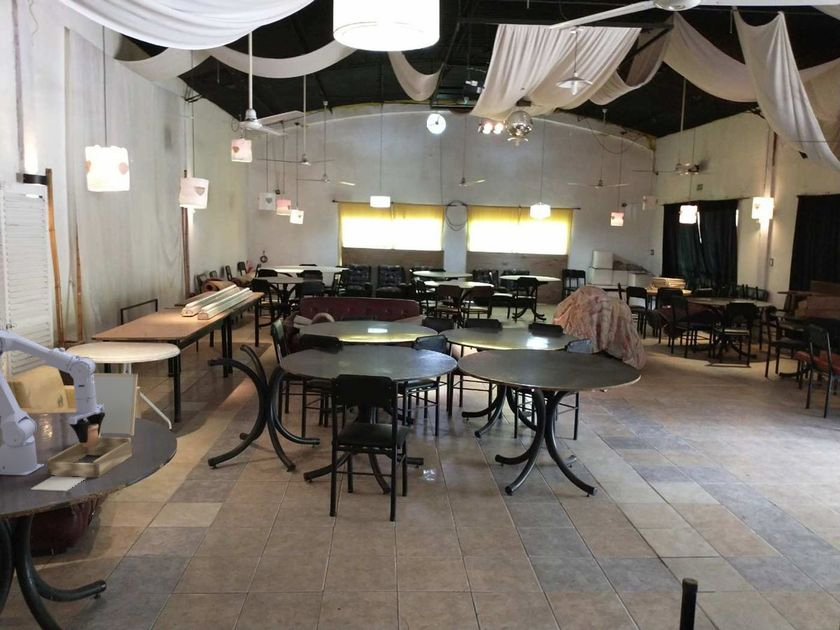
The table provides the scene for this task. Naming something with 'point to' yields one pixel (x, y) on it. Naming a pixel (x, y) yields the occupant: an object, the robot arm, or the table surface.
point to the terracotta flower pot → (92, 436)
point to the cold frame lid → (117, 401)
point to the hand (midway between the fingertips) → (89, 439)
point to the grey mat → (58, 483)
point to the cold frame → (109, 447)
